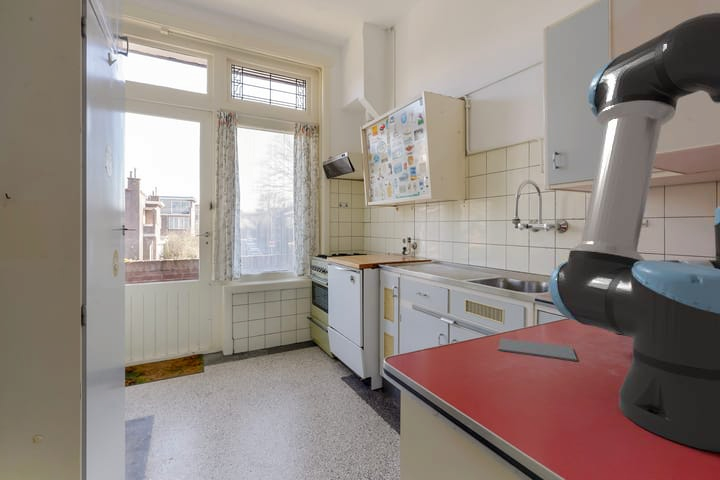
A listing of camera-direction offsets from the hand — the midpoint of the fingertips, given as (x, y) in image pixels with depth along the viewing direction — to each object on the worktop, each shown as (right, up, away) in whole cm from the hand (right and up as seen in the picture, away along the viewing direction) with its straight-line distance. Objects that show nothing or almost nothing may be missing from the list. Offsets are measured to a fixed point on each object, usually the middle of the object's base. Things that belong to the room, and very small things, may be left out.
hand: (560, 275), depth 84 cm
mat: (-8, -18, -3) cm, 19 cm away
